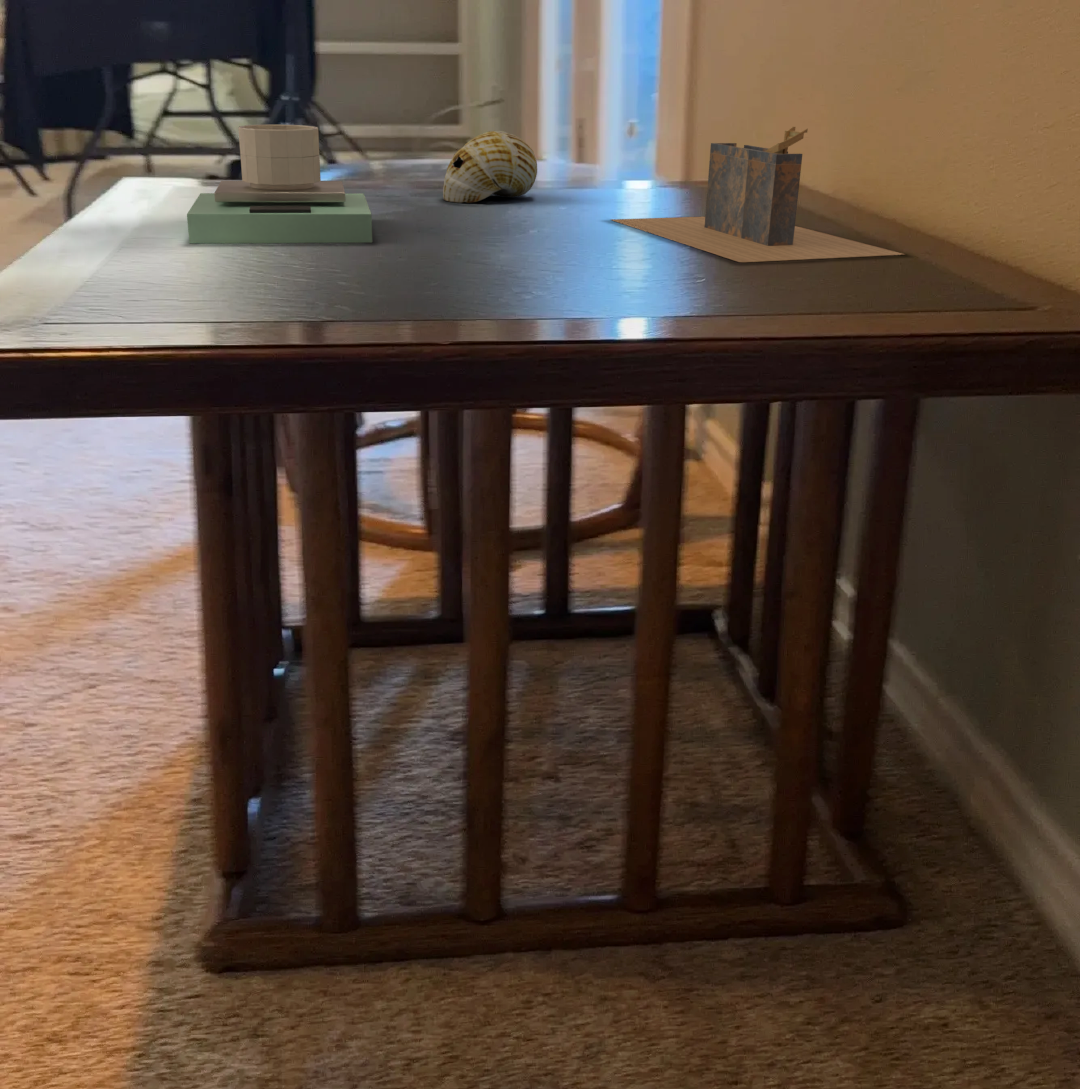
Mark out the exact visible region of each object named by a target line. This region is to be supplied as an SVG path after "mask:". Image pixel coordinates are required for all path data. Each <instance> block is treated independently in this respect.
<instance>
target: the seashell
mask: <svg viewBox="0 0 1080 1089" xmlns="http://www.w3.org/2000/svg"><path fill="white" fill-rule="evenodd" d="M537 175H538V162H537V158H536V155H535V152H534V150H533V149H532V147H531V146H530V145H529V144H528V143H527V142H526V141H525V140H524V139H522V138H520V137H519V136H517V135H515V134H513V133H510V132H506V130H493V131H491V130H489V131H486V132H483V133H481V134H479V135H476V136H474V137H473V138H471V139H470V140H468V142H466V143H465V144H464V146H463V147H461V148H459V149H458V150H457V151H456V152H455V153H454V154H453V156H452V158H451V159H450V161H449V164H448V165H447V168H446V172H445V174H444V179H443V180H444V182H443V184H442V197H443V200H444V201H446V202H451V203H460V204H461V203H467V204H468V203H477V202H481V201H482V200H486V198H488V197H490V196H491V195H493V196H497V197H502V198H516V197H522V196H524V195H526V194H527V193H528V192H529V191H530V190H531V189H532V188H533V186H534V184H535V181H536V179H537Z"/></svg>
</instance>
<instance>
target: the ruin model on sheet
mask: <svg viewBox="0 0 1080 1089" xmlns="http://www.w3.org/2000/svg"><path fill="white" fill-rule="evenodd" d="M796 129H797V128H796V126H792V127H791V128H789V129H788V130H784V133H783V134H784V135H783V141H781V142H779V143H776V144H774V145H773V146H771V147H770V148H769V147H762V146H755V145H751V144H744V145H743V147H739V146H738V143H737V142H710V151H709V162H708V177H707V191H706V201H705V202H706V203H705V214H704V215H705V216H677V217H674V216H673V217H647V218H646V217H645V218H644V217H643V218H617V219H616V218H615V219H611V221H613V222H616V223H619V224H621V225H625V226H628V227H631V228H634V229H637V230H640V231H644V232H646V233H649V234H652V235H655V236H658V237H662V238H665V239H667V240H671V241H674V242H676V243H680V244H682V245H685V246H689V247H692V248H695V249H698V250H701V251H704V252H708V253H710V254H714V255H716V256H720V257H721V258H722V257H723V258H725V259H729V260H731V261H735V262H738V263H756V262H757V263H758V262H777V261H780V262H781V261H797V260H798V261H799V260H819V259H821V260H822V259H839V258H860V257H861V258H862V257H881V256H901V255H905V253H903V252H898V251H895V250H890V249H886V248H883V247H879V246H876V245H872V244H868V243H863V242H860V241H856V240H852V239H848V238H844V237H841V236H836V235H832V234H828V233H825V232H821V231H817V230H813V229H809V228H805V227H801V226H797V225H796V220H797V219H796V218H797V210H798V209H797V208H798V202H799V201H798V199H799V191H800V181H801V180H800V179H801V173H802V162H803V153H789V151H788V150H789V147H791V146H793V145H794V144H796V143H798V142H800V141H801V140H803V139H804V134H805V133H807V134H808V132H809V131H808V128H806V129H804V130H802V131H797V130H796Z"/></svg>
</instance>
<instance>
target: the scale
mask: <svg viewBox="0 0 1080 1089" xmlns="http://www.w3.org/2000/svg"><path fill="white" fill-rule="evenodd" d="M214 193H215V192H207V193H206V192H200V193H199V194H198V196H197V198H196V199H195V200H194V203H193V204H192V206H191V207H190V209H189V210H188V212H187V213H186V220H187V221H186V222H187V223H186V224H187V232H188V243H189V245H191V244H192V245H197V244H200V245H201V244H204V245H205V244H206V245H208V244H209V245H210V244H212V245H213V244H223V245H224V244H371V243H372V244H373V220H372V218H373V217H372V216H373V215H372V212H371V210H370V207H369V204H368V201H367V198H366V196H365V193H345V202H215V195H214Z"/></svg>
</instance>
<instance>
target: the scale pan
mask: <svg viewBox="0 0 1080 1089" xmlns="http://www.w3.org/2000/svg"><path fill="white" fill-rule="evenodd" d="M213 193H214V195H215V202H345V194H346V191H345V187H344V184H343V181H342V180H321V181H320V182H316V183H314V187H312V188H308V189H300V190H265V189H256V188H252V187H250V183H247V182H244V181H242V180H221V181H220V182H219V184H218V186H217V187H216V189H215V192H213Z"/></svg>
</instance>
